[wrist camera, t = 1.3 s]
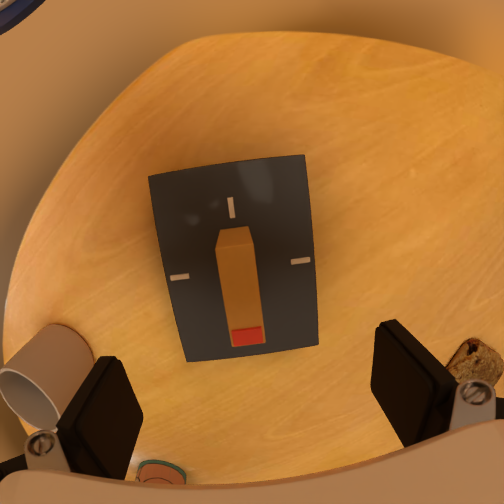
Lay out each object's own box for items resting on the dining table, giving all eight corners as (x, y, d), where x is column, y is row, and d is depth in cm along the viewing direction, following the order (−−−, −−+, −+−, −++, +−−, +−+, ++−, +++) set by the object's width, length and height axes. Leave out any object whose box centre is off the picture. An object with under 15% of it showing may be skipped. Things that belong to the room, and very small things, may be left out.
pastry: (507, 316, 29) (521, 324, 26) (485, 402, 33) (494, 412, 30) (412, 365, 29) (424, 380, 26) (401, 448, 33) (408, 461, 30)
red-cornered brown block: (219, 229, 21) (214, 249, 15) (248, 225, 21) (253, 244, 15) (232, 308, 22) (231, 349, 17) (258, 305, 22) (266, 345, 17)
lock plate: (158, 175, 23) (146, 176, 19) (296, 156, 23) (305, 154, 20) (190, 344, 26) (186, 363, 23) (310, 328, 27) (319, 346, 23)
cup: (61, 309, 25) (12, 355, 16) (127, 382, 27) (100, 443, 18) (31, 340, 25) (-12, 383, 17) (90, 403, 28) (63, 456, 19)
